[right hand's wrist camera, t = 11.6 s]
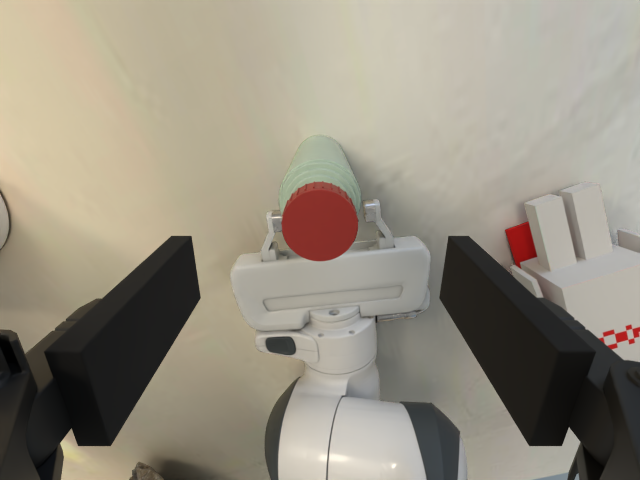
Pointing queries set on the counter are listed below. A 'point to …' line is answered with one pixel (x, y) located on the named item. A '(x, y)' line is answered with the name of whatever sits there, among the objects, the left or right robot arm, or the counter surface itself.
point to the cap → (319, 221)
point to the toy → (581, 264)
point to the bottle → (319, 169)
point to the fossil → (144, 473)
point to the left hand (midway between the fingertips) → (322, 206)
